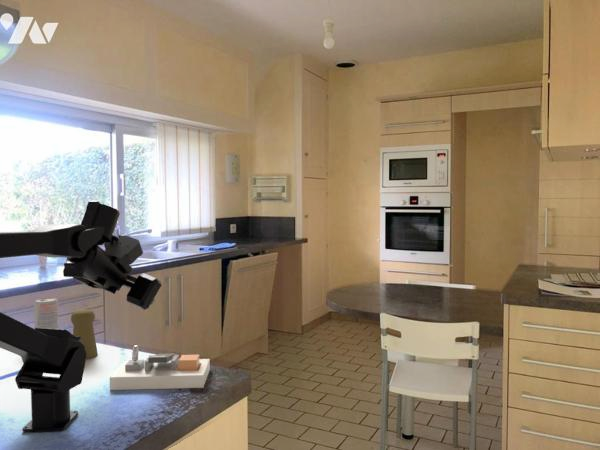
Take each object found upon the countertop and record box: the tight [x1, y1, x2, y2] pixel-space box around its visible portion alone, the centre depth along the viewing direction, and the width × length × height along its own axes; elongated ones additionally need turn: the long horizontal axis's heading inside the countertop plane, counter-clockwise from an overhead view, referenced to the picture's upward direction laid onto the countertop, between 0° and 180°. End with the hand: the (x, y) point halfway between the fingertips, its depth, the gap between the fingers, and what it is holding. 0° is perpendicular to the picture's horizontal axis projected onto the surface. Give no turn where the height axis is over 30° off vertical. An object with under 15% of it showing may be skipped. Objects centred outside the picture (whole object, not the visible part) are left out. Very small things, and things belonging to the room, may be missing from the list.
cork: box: [70, 308, 99, 360], centre depth 117 cm, size 6×6×11 cm
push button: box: [179, 354, 200, 371], centre depth 102 cm, size 4×4×3 cm
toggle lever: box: [131, 344, 140, 361], centre depth 102 cm, size 1×1×3 cm
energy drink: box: [33, 297, 60, 329], centre depth 124 cm, size 5×5×12 cm
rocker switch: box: [147, 353, 176, 363], centre depth 101 cm, size 8×4×1 cm, turn 3°
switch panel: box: [109, 354, 211, 391], centre depth 102 cm, size 10×18×4 cm, turn 93°
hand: (136, 295), depth 106 cm, fingers open, 9 cm apart
